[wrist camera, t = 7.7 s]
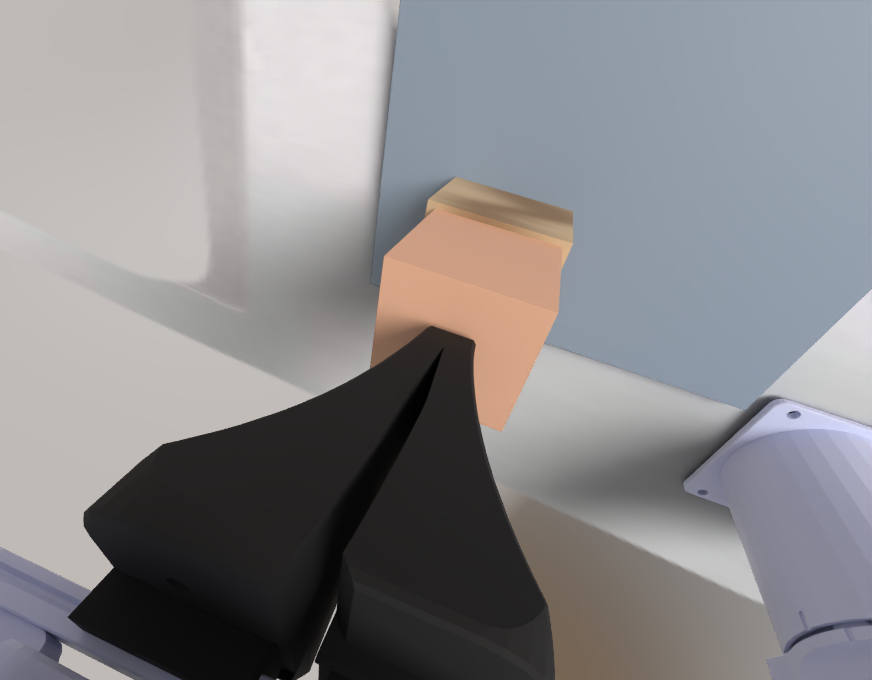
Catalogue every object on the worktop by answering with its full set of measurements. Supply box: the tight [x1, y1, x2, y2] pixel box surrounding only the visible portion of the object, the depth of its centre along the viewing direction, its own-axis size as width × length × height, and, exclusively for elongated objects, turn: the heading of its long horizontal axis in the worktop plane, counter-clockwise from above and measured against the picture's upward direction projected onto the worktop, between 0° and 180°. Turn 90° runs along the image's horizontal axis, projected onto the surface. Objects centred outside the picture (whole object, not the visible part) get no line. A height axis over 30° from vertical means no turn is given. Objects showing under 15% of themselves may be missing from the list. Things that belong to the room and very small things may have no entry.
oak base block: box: [425, 177, 573, 270], centre depth 16 cm, size 5×5×4 cm
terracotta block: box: [370, 209, 562, 432], centre depth 13 cm, size 5×5×5 cm
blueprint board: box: [370, 0, 872, 410], centre depth 15 cm, size 20×16×1 cm
